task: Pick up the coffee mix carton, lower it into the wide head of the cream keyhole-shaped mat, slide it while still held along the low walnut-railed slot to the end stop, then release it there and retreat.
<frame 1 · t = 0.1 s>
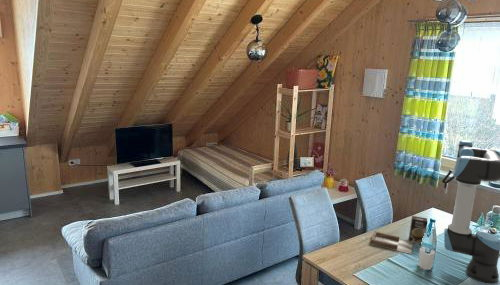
hand: (457, 195, 244), 28 cm above the table, fingers open, 13 cm apart
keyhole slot: (391, 243, 233), on the table
coffee box: (416, 242, 237), on the table
white cup: (425, 267, 208), on the table
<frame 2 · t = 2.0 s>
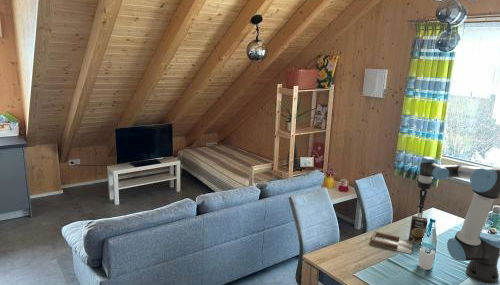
hand: (420, 213, 233), 19 cm above the table, fingers open, 13 cm apart
nothing on the table moved.
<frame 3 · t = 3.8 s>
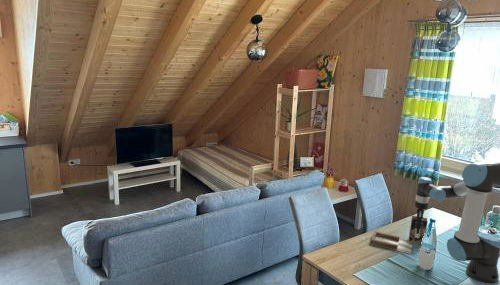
hand: (417, 235, 236), 5 cm above the table, fingers closed on coffee box, 7 cm apart
coffee box: (416, 242, 237), on the table, touching gripper
everything else where it was.
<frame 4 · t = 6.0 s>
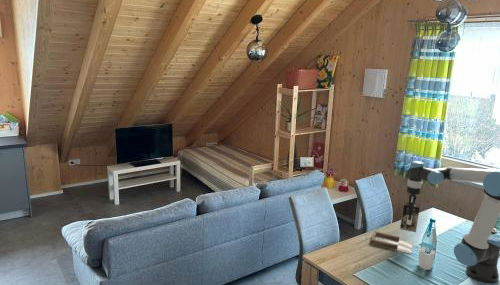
hand: (409, 222, 226), 17 cm above the table, fingers closed on coffee box, 7 cm apart
coffee box: (408, 229, 227), point 12 cm above the table, touching gripper
everything else where it was.
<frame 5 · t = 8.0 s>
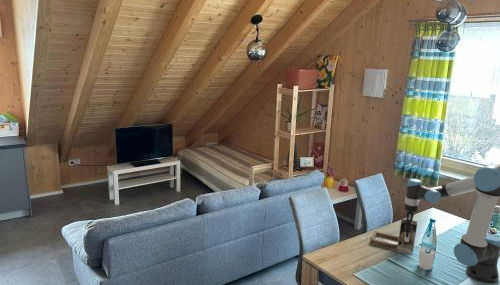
hand: (406, 238, 228), 6 cm above the table, fingers closed on coffee box, 7 cm apart
coffee box: (405, 245, 229), point 1 cm above the table, touching gripper
everything else where it was.
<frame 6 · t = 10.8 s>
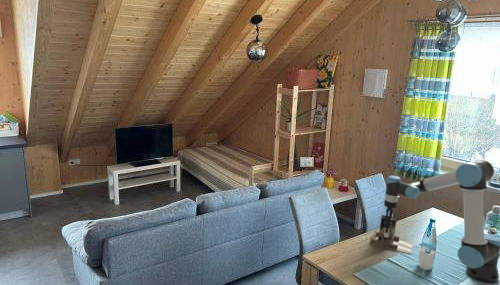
hand: (386, 234, 233), 6 cm above the table, fingers closed on coffee box, 7 cm apart
coffee box: (385, 241, 235), point 1 cm above the table, touching gripper
everything else where it was.
when the fingers open (5 cm above the table, at t = 12.5 s): coffee box stays where it is, resting on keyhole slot.
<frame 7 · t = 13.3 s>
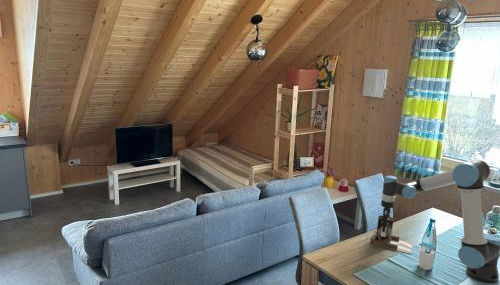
hand: (384, 231, 234), 7 cm above the table, fingers open, 13 cm apart
coffee box: (382, 241, 235), resting on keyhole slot
everything else where it was.
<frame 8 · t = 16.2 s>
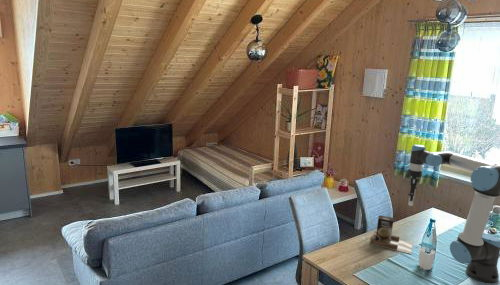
hand: (411, 202, 232), 27 cm above the table, fingers open, 13 cm apart
nothing on the table moved.
at the end: coffee box inside the target area (0.2 cm from its centre), resting on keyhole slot; coffee box tilted 0°; the gripper is holding nothing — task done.
